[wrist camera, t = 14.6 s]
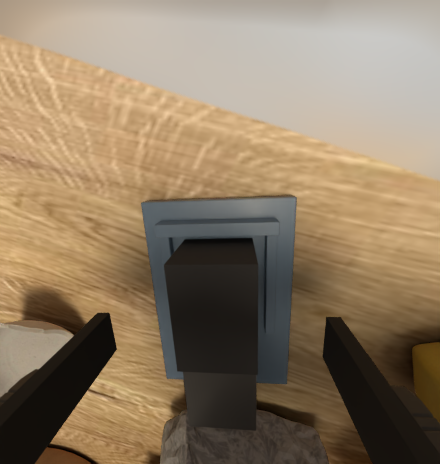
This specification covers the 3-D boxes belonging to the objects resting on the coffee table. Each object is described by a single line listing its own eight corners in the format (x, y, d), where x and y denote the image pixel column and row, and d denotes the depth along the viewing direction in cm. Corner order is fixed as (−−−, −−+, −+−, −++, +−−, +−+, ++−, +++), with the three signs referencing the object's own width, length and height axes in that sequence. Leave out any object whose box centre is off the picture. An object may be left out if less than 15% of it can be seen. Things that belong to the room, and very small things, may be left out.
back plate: (284, 373, 21) (298, 434, 16) (170, 368, 22) (150, 424, 17) (292, 195, 16) (316, 204, 11) (147, 200, 18) (110, 211, 13)
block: (252, 323, 19) (257, 375, 14) (192, 322, 19) (176, 372, 14) (252, 237, 16) (258, 264, 12) (184, 239, 17) (163, 264, 12)
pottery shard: (53, 389, 25) (9, 441, 20) (-13, 318, 23) (-79, 356, 18) (119, 360, 23) (86, 410, 18) (52, 278, 21) (-5, 310, 16)
